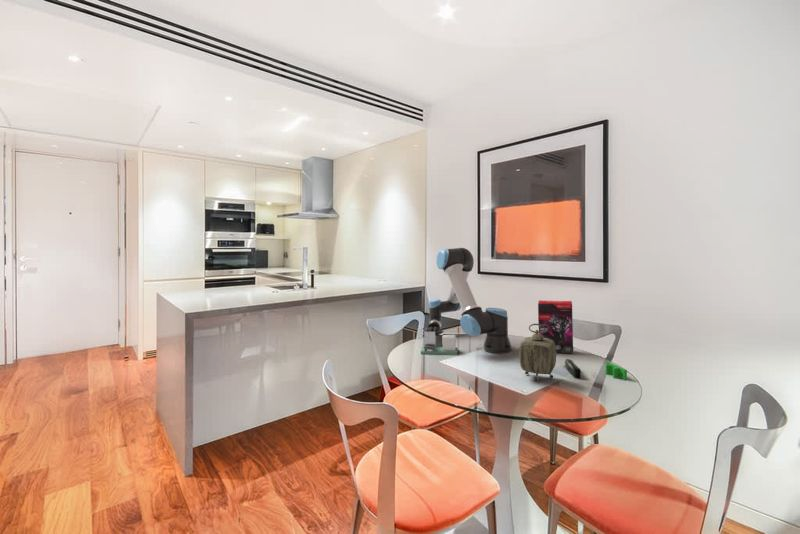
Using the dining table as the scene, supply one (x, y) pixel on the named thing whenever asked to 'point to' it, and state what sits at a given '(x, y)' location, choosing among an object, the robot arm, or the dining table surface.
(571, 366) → the mobile phone
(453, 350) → the heat-sink mount
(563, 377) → the dining table surface
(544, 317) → the graphics card box
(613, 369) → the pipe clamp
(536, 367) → the tabletop clock
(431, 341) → the plate
